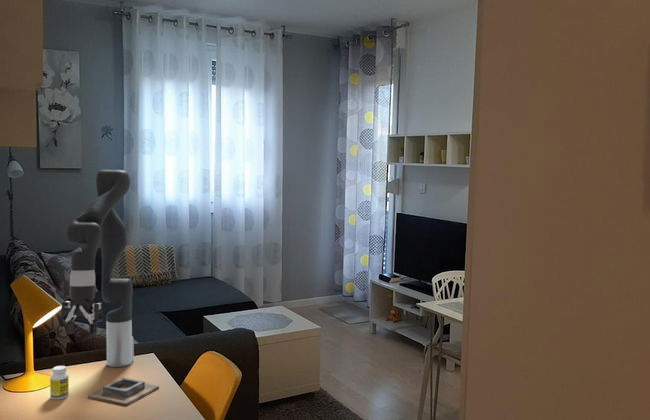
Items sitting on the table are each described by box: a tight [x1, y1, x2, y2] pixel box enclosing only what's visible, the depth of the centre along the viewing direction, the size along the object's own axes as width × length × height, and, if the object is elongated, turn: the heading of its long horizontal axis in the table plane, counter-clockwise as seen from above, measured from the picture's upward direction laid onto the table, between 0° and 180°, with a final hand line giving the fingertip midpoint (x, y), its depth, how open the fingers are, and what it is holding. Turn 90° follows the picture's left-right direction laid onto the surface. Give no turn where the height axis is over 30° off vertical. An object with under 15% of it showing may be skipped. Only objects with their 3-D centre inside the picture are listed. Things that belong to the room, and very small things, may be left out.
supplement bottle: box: [49, 365, 70, 400], centre depth 182 cm, size 5×5×10 cm
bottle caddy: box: [87, 377, 160, 407], centre depth 186 cm, size 16×16×3 cm
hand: (81, 334), depth 178 cm, fingers open, 8 cm apart
